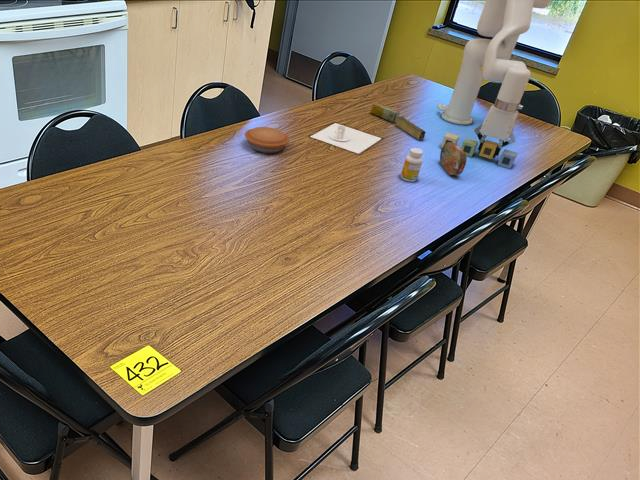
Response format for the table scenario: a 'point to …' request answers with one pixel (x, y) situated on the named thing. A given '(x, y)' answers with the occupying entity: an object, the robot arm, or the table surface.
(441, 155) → the tin
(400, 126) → the decorative block
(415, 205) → the table surface
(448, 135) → the cream block
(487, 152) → the mustard block
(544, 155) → the table surface
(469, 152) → the sage block
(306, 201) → the table surface
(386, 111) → the medication box
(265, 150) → the pie
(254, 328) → the table surface
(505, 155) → the blue-grey block
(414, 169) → the supplement bottle
